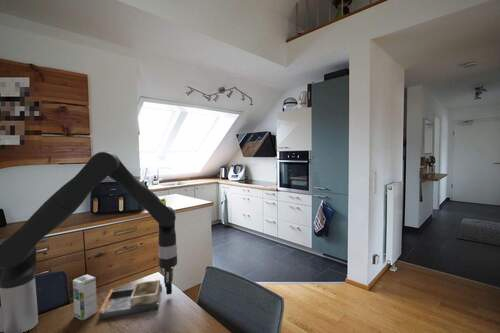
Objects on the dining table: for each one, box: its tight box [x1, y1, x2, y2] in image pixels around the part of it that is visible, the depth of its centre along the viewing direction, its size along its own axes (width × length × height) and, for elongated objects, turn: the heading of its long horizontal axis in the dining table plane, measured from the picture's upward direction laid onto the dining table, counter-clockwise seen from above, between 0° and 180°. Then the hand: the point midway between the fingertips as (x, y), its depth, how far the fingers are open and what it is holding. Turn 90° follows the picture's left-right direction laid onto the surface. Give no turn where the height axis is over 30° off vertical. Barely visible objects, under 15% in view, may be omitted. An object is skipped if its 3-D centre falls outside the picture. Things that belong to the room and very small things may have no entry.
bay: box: [98, 283, 163, 320], centre depth 103 cm, size 21×15×3 cm
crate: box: [130, 279, 161, 307], centre depth 105 cm, size 10×12×5 cm
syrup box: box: [72, 274, 98, 321], centre depth 96 cm, size 6×6×14 cm
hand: (169, 293), depth 107 cm, fingers closed
